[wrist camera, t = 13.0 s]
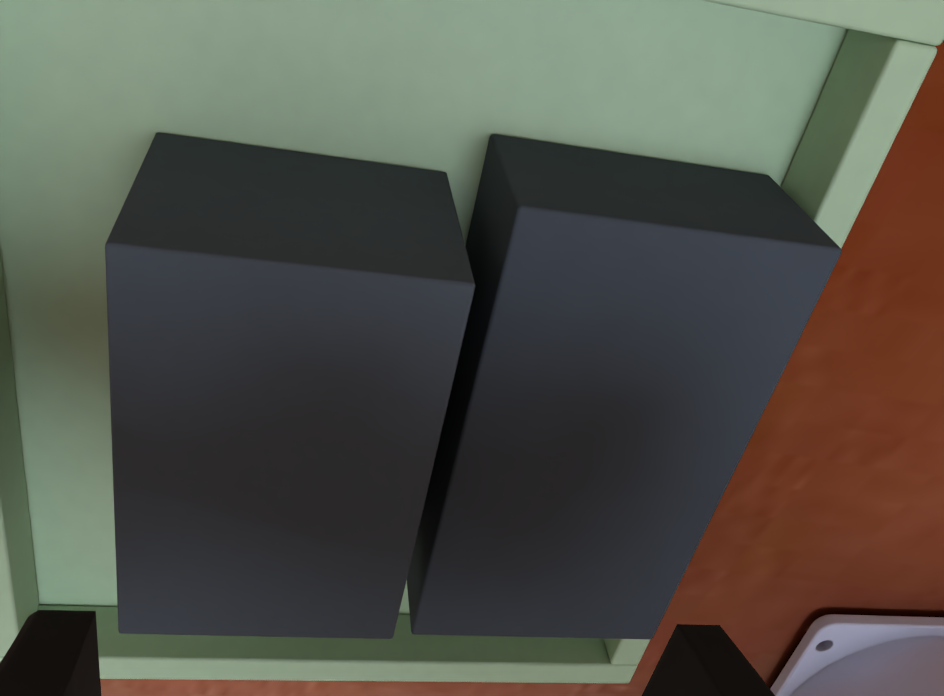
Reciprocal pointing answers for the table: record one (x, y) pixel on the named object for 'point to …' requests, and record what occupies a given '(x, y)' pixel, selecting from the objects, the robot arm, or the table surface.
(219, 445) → the loose pad
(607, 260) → the pad
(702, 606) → the table surface
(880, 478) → the table surface
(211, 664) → the tray
